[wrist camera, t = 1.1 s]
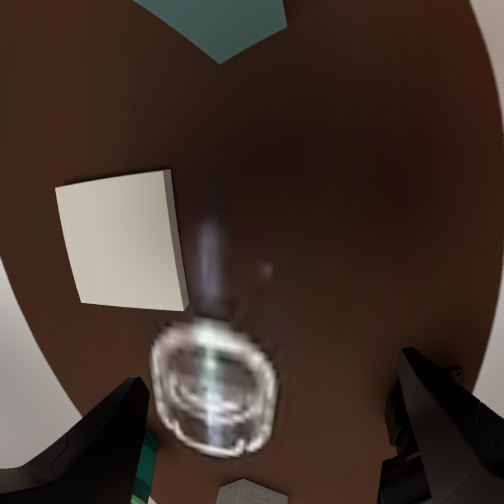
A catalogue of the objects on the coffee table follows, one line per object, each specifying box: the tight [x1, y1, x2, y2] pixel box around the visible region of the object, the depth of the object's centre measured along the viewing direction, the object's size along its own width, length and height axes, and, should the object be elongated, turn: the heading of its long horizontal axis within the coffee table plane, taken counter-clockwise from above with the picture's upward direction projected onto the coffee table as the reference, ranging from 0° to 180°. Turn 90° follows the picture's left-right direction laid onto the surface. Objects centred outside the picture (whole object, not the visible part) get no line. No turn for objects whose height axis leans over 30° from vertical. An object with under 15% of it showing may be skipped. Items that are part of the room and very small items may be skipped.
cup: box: [131, 430, 158, 504], centre depth 26 cm, size 8×8×12 cm
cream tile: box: [55, 169, 189, 311], centre depth 22 cm, size 10×10×1 cm
